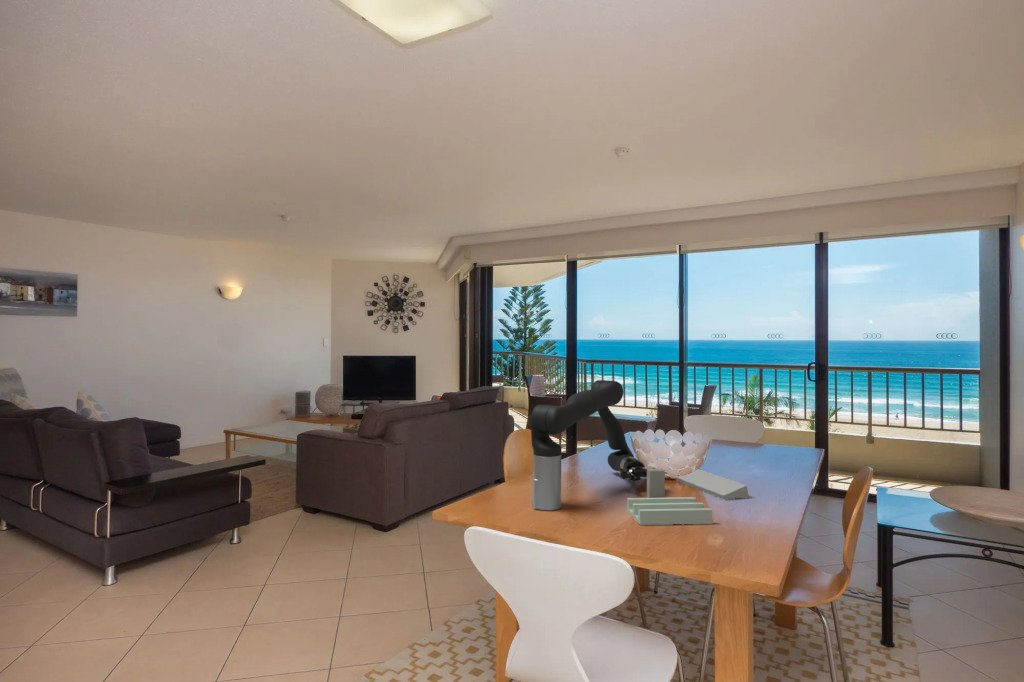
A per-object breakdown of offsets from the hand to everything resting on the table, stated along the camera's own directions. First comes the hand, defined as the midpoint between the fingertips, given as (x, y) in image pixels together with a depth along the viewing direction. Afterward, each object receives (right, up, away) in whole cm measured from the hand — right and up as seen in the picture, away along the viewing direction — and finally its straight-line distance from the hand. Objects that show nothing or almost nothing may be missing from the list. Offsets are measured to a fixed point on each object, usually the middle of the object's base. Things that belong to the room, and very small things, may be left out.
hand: (645, 478), depth 194 cm
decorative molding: (+25, -8, +14) cm, 30 cm away
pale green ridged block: (+2, -7, -22) cm, 23 cm away
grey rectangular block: (+1, -7, -10) cm, 12 cm away
